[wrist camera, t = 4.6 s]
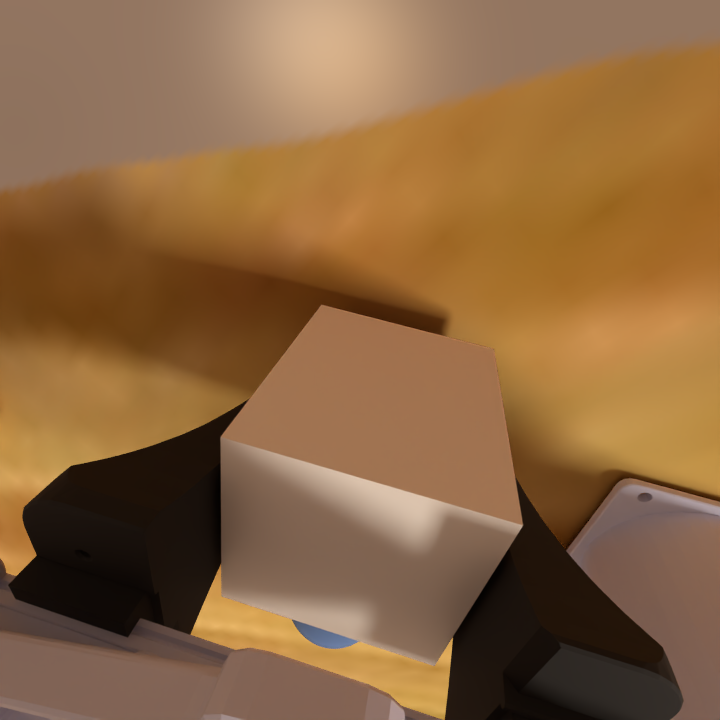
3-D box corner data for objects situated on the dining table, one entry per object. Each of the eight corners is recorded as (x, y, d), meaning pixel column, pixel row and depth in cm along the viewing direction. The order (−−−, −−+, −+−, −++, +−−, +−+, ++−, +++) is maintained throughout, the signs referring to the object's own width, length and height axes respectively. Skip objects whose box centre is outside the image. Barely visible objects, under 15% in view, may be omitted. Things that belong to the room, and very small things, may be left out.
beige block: (494, 348, 13) (523, 525, 7) (442, 472, 17) (434, 665, 11) (321, 304, 14) (220, 437, 8) (303, 432, 17) (221, 596, 11)
